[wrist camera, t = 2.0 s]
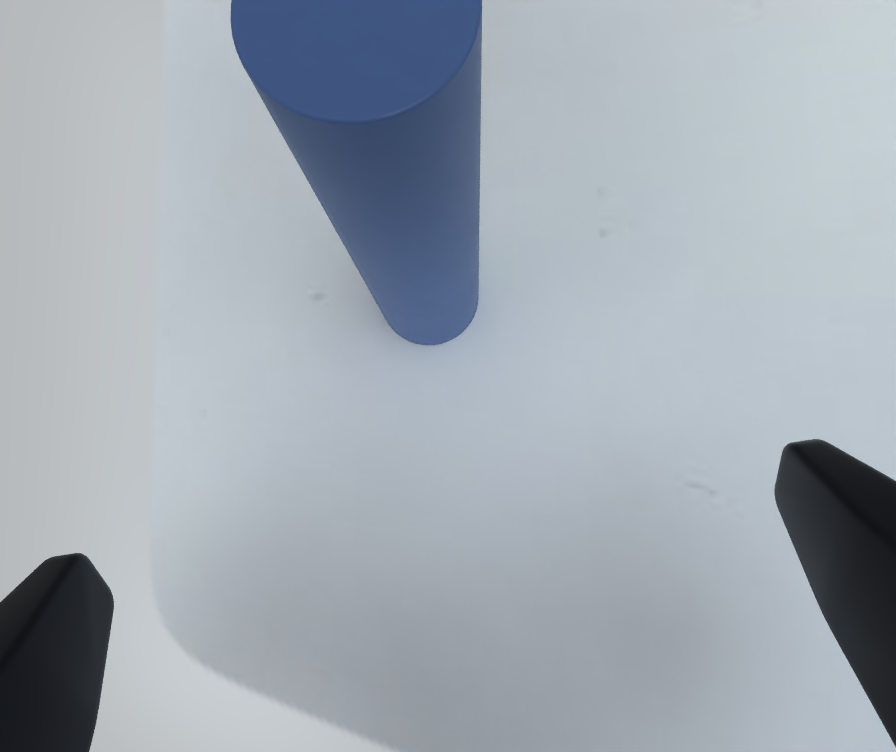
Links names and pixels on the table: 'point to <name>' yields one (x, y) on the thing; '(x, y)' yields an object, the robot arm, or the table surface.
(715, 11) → the table surface
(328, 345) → the table surface
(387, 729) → the table surface
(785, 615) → the table surface
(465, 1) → the peg
